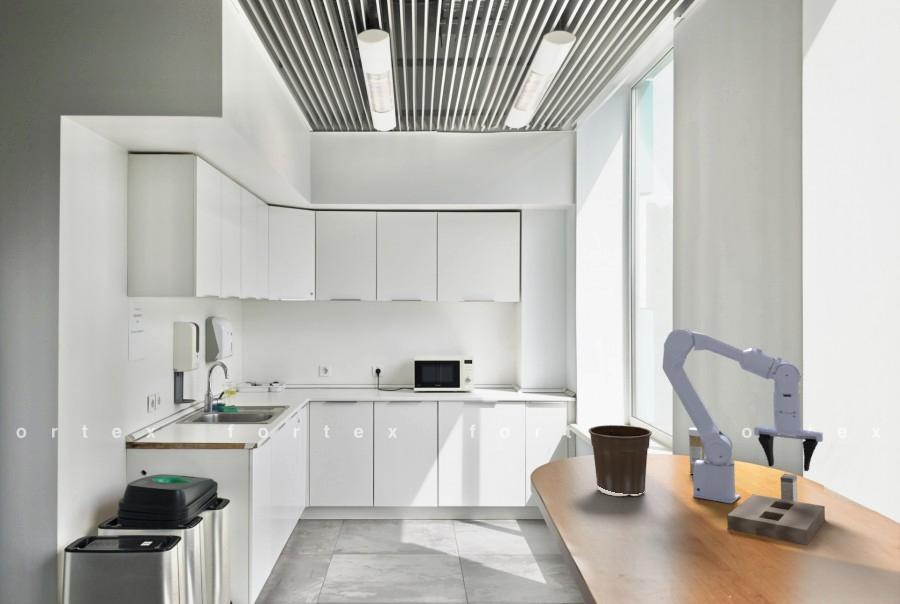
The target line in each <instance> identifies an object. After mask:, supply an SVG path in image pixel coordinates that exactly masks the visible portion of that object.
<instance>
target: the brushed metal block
mask: <svg viewBox="0 0 900 604" xmlns="http://www.w3.org/2000/svg"><path fill="white" fill-rule="evenodd" d="M780 492H781V493H780V499H784V500H790V501H796V502H798V475H796V474H791V473H790V474H789V473H784V474H782V475H781V476H780Z"/></svg>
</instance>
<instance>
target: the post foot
mask: <svg viewBox="0 0 900 604" xmlns="http://www.w3.org/2000/svg"><path fill="white" fill-rule="evenodd" d="M825 509H826V508H825V505H819V504H815V503H814V504H813V503H807V502H801V501H797V502H796V501H790V500H784V499H781V498H776V497H771V496H764V495H759V494H758V495H757V494H751V495H750V496H748V497H747V498H746V499H745V500H744V501H742V502H741V503H740V504H739V505H737V507H735V508H734V509H732V511H730V512H729V513H728V514H726V515H727V516H726V517H727V518H726V519H727V530H730V531H735V532H740V533H746V534H751V535H755V536H760V537H765V538H769V539H774V540H780V541H784V542H790V543H795V544H800V545H804V546H808V545H809V543H810V542H811V540H812V539H813V538H814V536H815V535H816V534H817V532H818V530H819V529H820V528H821V526H822V524H823V523H824V522H825V520H826V514H825V513H826V510H825Z"/></svg>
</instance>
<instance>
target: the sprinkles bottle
mask: <svg viewBox="0 0 900 604" xmlns="http://www.w3.org/2000/svg"><path fill="white" fill-rule="evenodd" d="M688 436H689V444H688V445H689V446H688V447H689V451H688V452H689V469H690V470H689V474H690V473H691V474H693V468H694V463H695V462H696V460H703V459H704V458H705V457H706V456H705V453H704V445H703V442H702V441H701V439H700V436H699V433H698V430H697V429H696V427H689V428H688ZM691 474H690V475H691Z"/></svg>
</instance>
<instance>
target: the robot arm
mask: <svg viewBox="0 0 900 604" xmlns="http://www.w3.org/2000/svg"><path fill="white" fill-rule="evenodd" d="M692 349H693V351H709V352H712V353H715V354H717V355H720V356H723V357H725V358H726V359H731V360H733V361H736V362H738V363H739V366H740V368H741V370H744V371H746V372H748V373H751V374H754V375H756V376H758V377H761V378H763V379H766V380H773V383H774V384H773V392H772V394H773V398H772V399H773V400H772V401H773V402H772V403H773V427H772V426H754V427H753V429H754V432H753V434H754V436H758V438H757V440H758V442H759V443H760V445H761V448H762V449H763V451H764V453H765V457H766V460H767V463H768V467H774V464H775V460H774V459H775V457H774V439H775V437H777V438H785V439H786V438H787V439H794V440H802V450H803V471H804V472H808V471H809V470H810V464H811V461H812V457H813V455H814V453H815V450H816V447H817V446H818V444H819V443H820V442H824V436H823V435H824V433H823V432H820V431H812V430H808V429H807V430H805V429H802V427H801V426H802V423H801V422H802V421H801V419H802V418H801V393H800V391H799V390H800V385H799V383H800V381H801V379H802V375H801V373H800V370H799V368H797V367H796V366H795V365H794V364H793V363H790V362H789V361H787V360H783V358H782V357H780V356H778V357H775V356H773V355H771V354H767V353H765V352H763V349H761V348H759V347H756V349H755V348H752V347H750V348H748V349H745V350H743V349H741V348H738V347H735V346H734V345H731V344H729V343H727V342H724V341H723V340H720V339H717V338H716V337H713V336H710V335H708V334H705V333H701V332H698V331H691V330H689V329H687V328H677V329H674V330H672V331H671V332H669V334H668V335H667V337H666V339H665V342H664V343H663V354H662V355H663V357H662V370H663V372H664V373H665V376H666V377H667V378H668V381H669V383H670V384H671V386H672V388H673V390H674V392H675V393H676V395H677V396H678V398H679V400H680V402H681V404H682V406H683V407H684V410H685V411H686V413H687V415H688V417H689V418H690V419H691V421H692V423H693V425H694V428H696V429H697V430H698V433H699V436H700V439H701V441H702V442H703V445H704V453H705V456H706V457H705V458H704V459H703V460H696V462H695V463H694V468H693V475H692V477H693V479H692V480H693V482H692V484H693V494H692V497H693V498H698V499H704V500H709V501H715V502H721V503H726V504H733V503H734V502H735V501H736V500H738V499H739V498H740V497H741V494H738V493H736V479H735V477H736V474H735V470H736V469H735V460H734V459H732V456H733V442H732V440H731V439H730V437H729V436H727V435H726V434H725V433H723V431H722V430H721V428H720V427H719V426H718V424H717V423H716V422H715V420H714V419H713V417H712V415H711V414H710V412H709V410H708V408H707V407H706V405H705V403H704V401H703V400H702V397H701V396H700V394H699V392H698V390H697V389H696V388H695V386H694V384H693V382H692V381H691V380H692V379H690V377H689V375H688V373H687V372H686V370H685V368H684V365H685V362H686V359H687V356H688V354H689V353H690V352H691V350H692ZM803 440H804V441H803Z"/></svg>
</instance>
